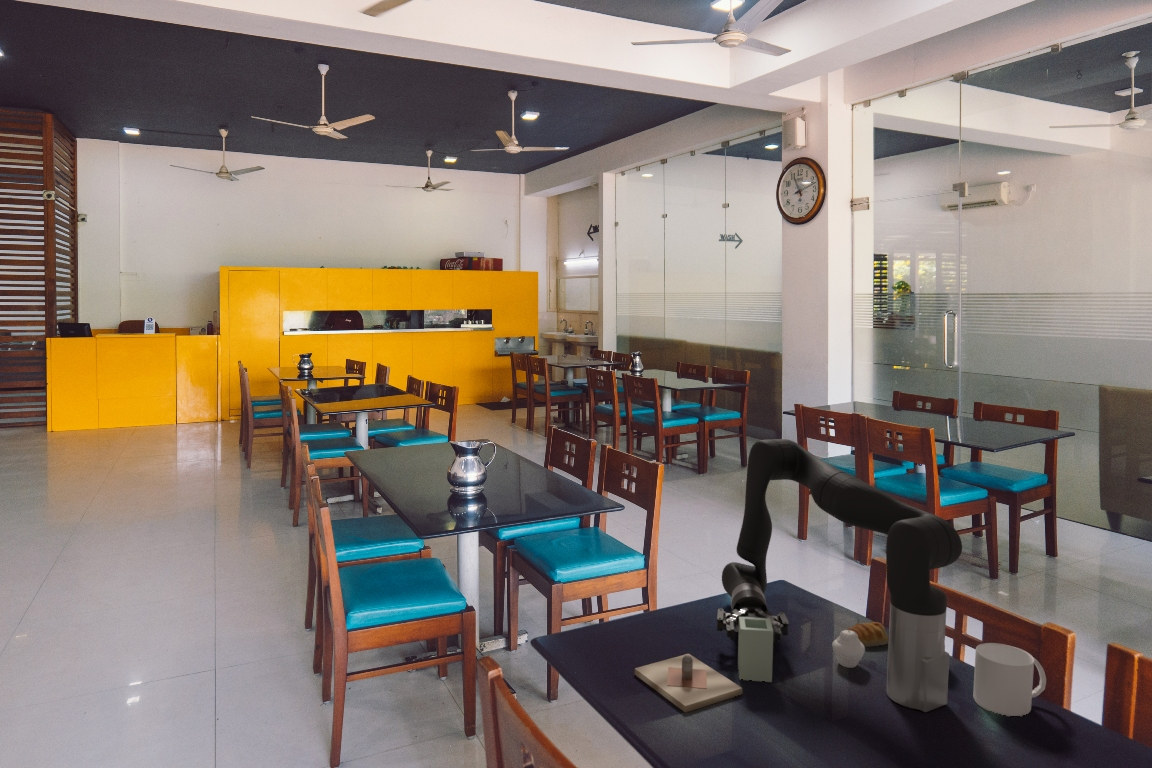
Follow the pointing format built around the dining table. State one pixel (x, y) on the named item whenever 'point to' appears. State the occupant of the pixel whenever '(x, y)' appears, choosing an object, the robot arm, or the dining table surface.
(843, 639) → the white piece
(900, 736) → the dining table surface
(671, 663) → the post board
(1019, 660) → the mug
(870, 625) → the pastry
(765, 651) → the sleeve
